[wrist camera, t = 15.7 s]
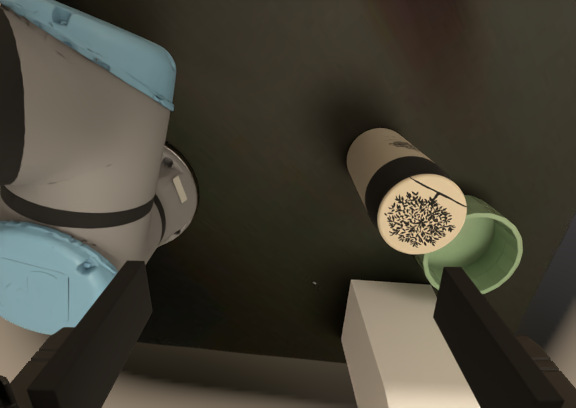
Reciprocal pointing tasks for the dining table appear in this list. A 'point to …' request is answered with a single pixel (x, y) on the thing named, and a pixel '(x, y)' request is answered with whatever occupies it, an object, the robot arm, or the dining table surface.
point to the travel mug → (405, 192)
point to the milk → (400, 349)
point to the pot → (478, 249)
